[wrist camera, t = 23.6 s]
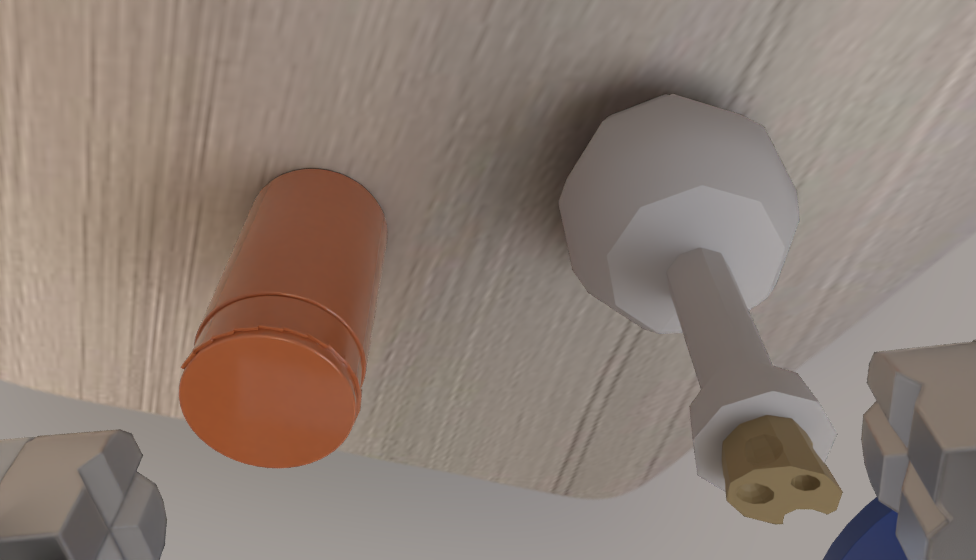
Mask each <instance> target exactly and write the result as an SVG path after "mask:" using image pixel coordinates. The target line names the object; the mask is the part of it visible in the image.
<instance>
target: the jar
mask: <svg viewBox="0 0 976 560" xmlns="http://www.w3.org/2000/svg"><path fill="white" fill-rule="evenodd" d="M387 233H388V231H387V223H386V220H385V216H384V214H383V212H382V209H381V207H380V206H379V204H378V203H377V201H376V200H375V198H374V197H373V196H372V195H371V194H370V193H369V192H368V191H367V190H366V189H365V188H364V187H363V186H361V185H360V184H359V183H357V182H356V181H354V180H352V179H351V178H349V177H347V176H344V175H342V174H340V173H336V172H333V171H329V170H323V169H301V170H295V171H292V172H288V173H285V174H283V175H281V176H279V177H277V178H275V179H274V180H272V181H271V182H269V183H268V184H267V185H266V186H265V187H264V188H263V189H262V190H261V191H260V192H259V194H258V195H257V197H256V199H255V200H254V202H253V205H252V207H251V209H250V212H249V214H248V216H247V219H246V221H245V223H244V225H243V228H242V230H241V232H240V235H239V237H238V239H237V241H236V244H235V246H234V248H233V251H232V253H231V255H230V258H229V260H228V262H227V264H226V267H225V269H224V271H223V274H222V276H221V278H220V281H219V283H218V285H217V287H216V290H215V292H214V294H213V297H212V299H211V301H210V304H209V306H208V308H207V310H206V313H205V315H204V317H203V320H202V322H201V324H200V326H199V329H198V331H197V334H196V337H195V342H194V348H193V351H192V352H191V354H190V355H189V356H188V358H187V359H186V360H185V361H184V363H183V364H182V366H181V368H183V369H184V372H183V374H182V377H181V380H180V385H179V401H180V406H181V409H182V412H183V415H184V417H185V419H186V421H187V423H188V424H189V426H190V427H191V429H192V430H193V431H194V432H195V434H196V435H197V436H198V437H199V438H200V439H201V440H202V441H204V442H205V443H206V444H207V445H208V446H210V447H211V448H213V449H214V450H215V451H217V452H219V453H221V454H223V455H224V456H226V457H229V458H231V459H233V460H236V461H239V462H241V463H244V464H248V465H253V466H257V467H265V468H291V467H298V466H302V465H306V464H310V463H313V462H315V461H318V460H320V459H322V458H324V457H326V456H328V455H329V454H330V453H332V452H333V451H335V450H336V449H337V448H338V447H339V446H340V445H341V444H342V443H343V442H344V441H345V439H346V438H347V437H348V435H349V433H350V431H351V430H352V427H353V425H354V423H355V420H356V418H357V416H358V413H359V411H360V409H361V397H362V390H361V387H362V385H363V382H364V379H365V373H366V367H367V361H368V355H369V349H370V343H371V337H372V330H373V324H374V318H375V312H376V306H377V300H378V294H379V287H380V281H381V275H382V269H383V263H384V257H385V250H386V244H387Z"/></svg>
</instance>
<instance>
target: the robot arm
mask: <svg viewBox="0 0 976 560" xmlns="http://www.w3.org/2000/svg"><path fill="white" fill-rule="evenodd" d="M867 384H868V386H869V388H870V389H871V391H872V393H873V395H874V397H875V398H876V400H877V401H876V402H875V403H874V404H873V405H872V406H871V407H870V408H869V409H868V411H866V413H865V414H864V415H863V424H862V438H861V440H862V447H863V456H864V463H865V466H866V470H867V473H868V477H869V480H870V483H871V485H872V487H873V489H874V491H875V494H876V496H877V498H878V500H879V502H881V503H883V504H884V505H886V506H887V507H889V508H890V509H892V510H893V511H895V512H897V513H898V518H897V525H896V533H895V535H896V537H897V539H898V541H899V543H900V545H901V547H902V549H903V551H904V553H905V555H906V557H907V559H908V560H976V340H973V341H972V342H962V343H953V344H944V345H935V346H926V347H916V348H907V349H898V350H889V351H879V352H874V354H873V356H872V358H871V361H870V363H869V369H868V377H867ZM142 456H143V454H142V453H141V451H140V449H139V447H138V445H137V443H136V441H135V439H134V437H133V435H132V434H131V433H129V432H126V431H123V430H106V431H94V432H82V433H70V434H56V435H44V436H37V437H27V438H15V439H4V440H0V560H160V557H161V554H162V551H163V549H164V546H165V536H166V524H167V518H166V513H165V508H164V502H163V499H162V497H161V494H160V492H159V490H158V487H157V485H156V484H155V483H153V482H152V481H150V480H149V479H147V478H146V477H144V476H143V475H142V474H140V473H139V472H137V468H138V466H139V464H140V461H141V459H142Z"/></svg>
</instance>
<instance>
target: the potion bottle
mask: <svg viewBox="0 0 976 560" xmlns="http://www.w3.org/2000/svg"><path fill="white" fill-rule="evenodd" d="M558 203H559V208H560V212H561V217H562V222H563V227H564V232H565V237H566V241H567V246H568V251H569V256H570V261H571V266H572V270H573V272H574V273H575V274H576V276H577V277H578V279H579V280H580V282H581V283H582V284H583V286H584V287H585V289H586V290H587V292H588V293H589V294H591V295H592V296H594V297H596V298H597V299H599V300H600V301H602V302H603V303H605V304H606V305H608V306H609V307H611V308H612V309H614V310H615V311H617V312H618V313H620V314H621V315H623V316H624V317H626V318H628V319H629V320H631V321H632V322H634V323H635V324H637V325H638V326H640V327H641V328H643V329H646V330H649V331H652V332H655V333H658V334H668V333H683V335H684V338H685V341H686V344H687V347H688V350H689V353H690V356H691V359H692V363H693V366H694V369H695V372H696V375H697V378H698V381H699V384H700V387H701V391H700V392H699V394H698V395H697V396H696V398H695V399H694V401H693V402H692V404H691V405H690V406H689V407H690V417H691V427H692V437H693V446H694V453H695V460H696V467H697V475H698V476H700V477H701V478H703V479H705V480H706V481H708V482H709V483H711V484H713V485H714V486H716V487H718V488H720V489H721V490H723V491H725V492H726V499H727V501H728V502H729V503H730V504H731V505H732V506H733V507H734V508H736V510H738V511H739V512H740V513H741V514H742V515H743V516H745V517H749V518H753V519H757V520H761V521H765V522H768V523H772V524H783V519H784V515H785V514H787V513H789V512H792V511H794V510H796V509H813V510H816V511H819V512H823V513H825V514H829V513H831V512H833V511H835V510H837V507H838V504H839V501H840V498H841V495H842V493H843V492H842V490H841V488H840V487H839V485H838V483H837V482H836V480H835V478H834V477H833V475H832V474H831V472H830V470H829V469H828V467H827V465H825V461H826V459H827V456H828V454H829V452H830V449H831V448H832V445H833V443H834V441H835V439H836V437H837V432H836V431H835V429H834V427H833V426H832V424H831V422H830V420H829V418H828V417H827V415H826V413H825V412H824V410H823V408H822V406H821V405H820V403H819V401H818V400H817V399H816V397H815V396H814V395H813V393H812V392H811V391H810V389H809V388H808V387H807V386H806V384H805V383H804V381H803V380H802V379H801V377H800V376H799V375H798V373H796V372H792V371H789V370H785V369H782V368H778V367H775V366H773V365H772V362H771V360H770V358H769V356H768V353H767V351H766V349H765V346H764V344H763V342H762V340H761V337H760V335H759V333H758V331H757V328H756V326H755V324H754V322H753V319H752V317H751V315H750V312H749V310H750V309H752V308H753V307H755V306H756V305H758V304H759V303H761V302H762V301H764V300H765V299H767V298H768V296H769V295H770V293H771V292H772V290H773V289H774V287H775V286H776V284H777V281H778V278H779V276H780V273H781V270H782V267H783V265H784V262H785V259H786V256H787V254H788V251H789V248H790V245H791V243H792V240H793V237H794V234H795V232H796V229H797V226H798V223H799V221H800V218H799V207H798V197H797V190H796V188H795V186H794V184H793V182H792V180H791V178H790V176H789V174H788V173H787V171H786V169H785V167H784V165H783V163H782V161H781V159H780V157H779V155H778V153H777V151H776V149H775V147H774V145H773V143H772V141H771V139H770V137H769V135H768V133H767V131H766V129H765V127H764V126H762V125H760V124H758V123H756V122H754V121H752V120H750V119H749V118H747V117H745V116H743V115H741V114H738V113H735V112H731V111H728V110H725V109H721V108H718V107H715V106H711V105H708V104H705V103H701V102H698V101H695V100H692V99H688V98H685V97H682V96H678V95H675V94H671V95H667V94H665V95H662V96H659V97H657V98H654V99H652V100H649V101H646V102H644V103H641V104H639V105H636V106H633V107H631V108H628V109H626V110H623V111H620V112H618V113H615V114H613V115H610V116H607V118H606V119H605V120H604V121H602V123H601V125H600V126H599V128H598V129H597V131H596V133H595V134H594V136H593V137H592V139H591V141H590V142H589V144H588V145H587V147H586V149H585V150H584V152H583V153H582V155H581V157H580V158H579V160H578V161H577V163H576V165H575V166H574V168H573V169H572V171H571V173H570V174H569V176H568V177H567V179H566V182H565V185H564V188H563V190H562V193H561V196H560V199H559V202H558Z"/></svg>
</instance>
